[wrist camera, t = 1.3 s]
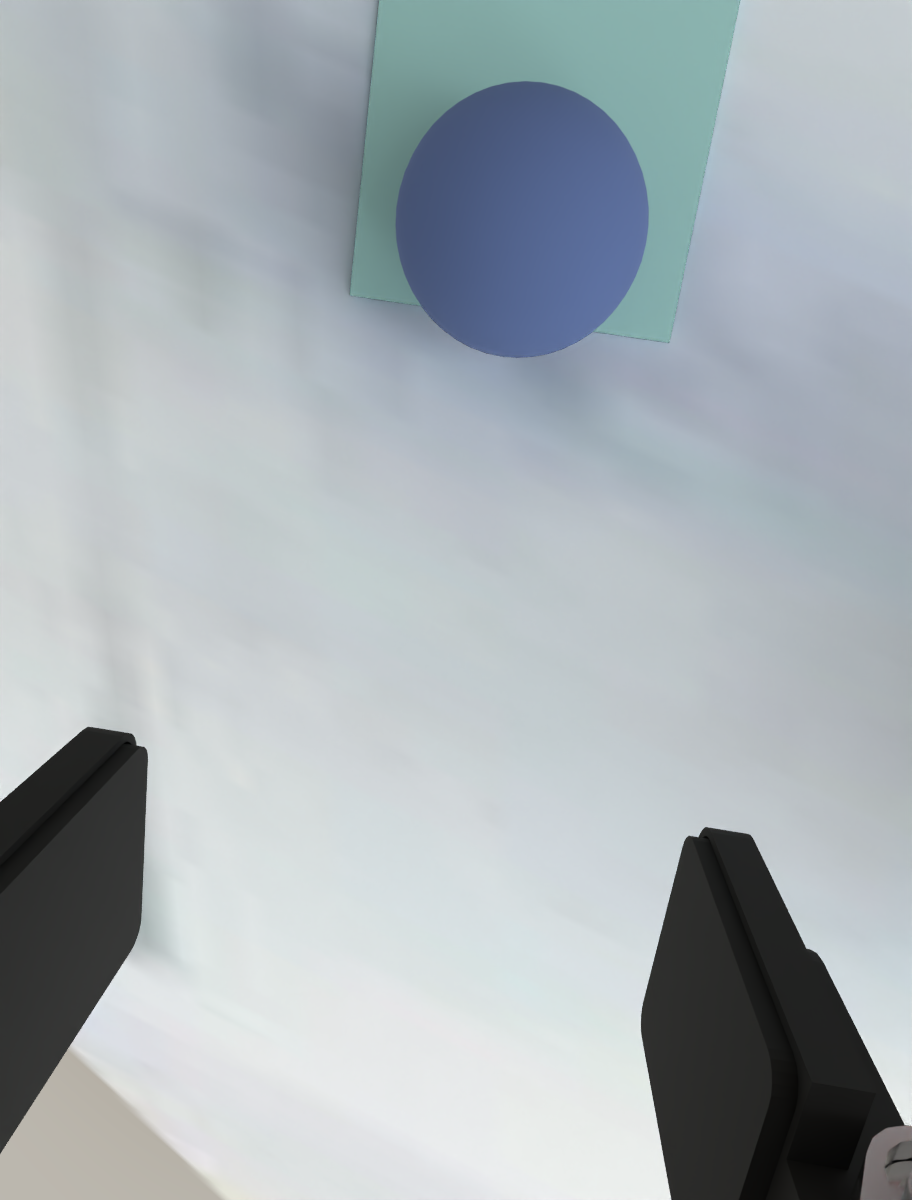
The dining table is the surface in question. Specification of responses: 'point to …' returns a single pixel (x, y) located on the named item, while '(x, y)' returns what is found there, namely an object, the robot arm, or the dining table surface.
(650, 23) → the panel
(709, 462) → the dining table surface
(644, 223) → the ball
